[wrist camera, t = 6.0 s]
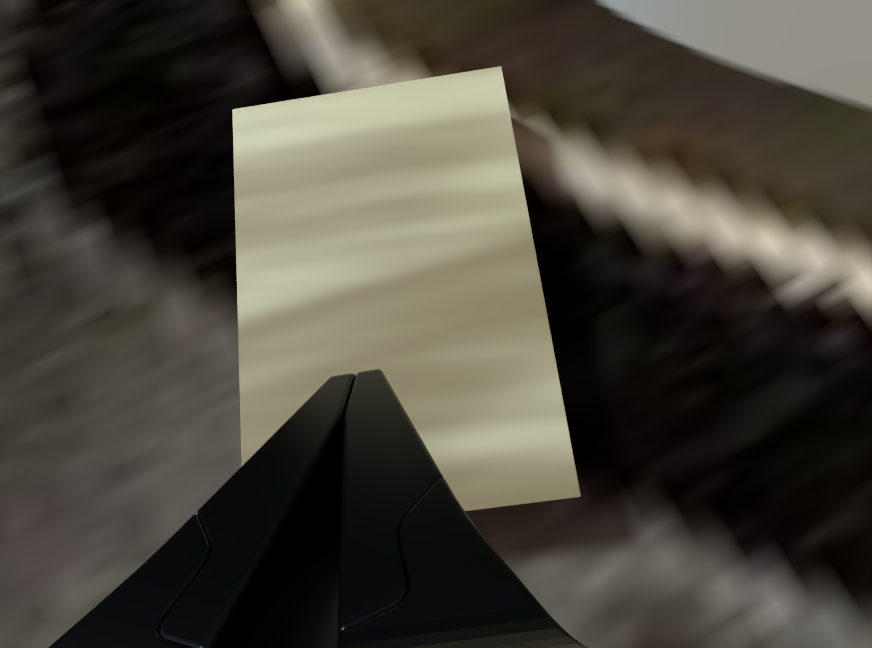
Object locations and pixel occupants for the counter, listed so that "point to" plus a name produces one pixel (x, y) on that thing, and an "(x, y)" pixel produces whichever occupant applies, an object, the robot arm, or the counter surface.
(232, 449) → the counter surface
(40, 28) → the counter surface
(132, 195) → the counter surface
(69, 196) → the counter surface
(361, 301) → the birch tile
